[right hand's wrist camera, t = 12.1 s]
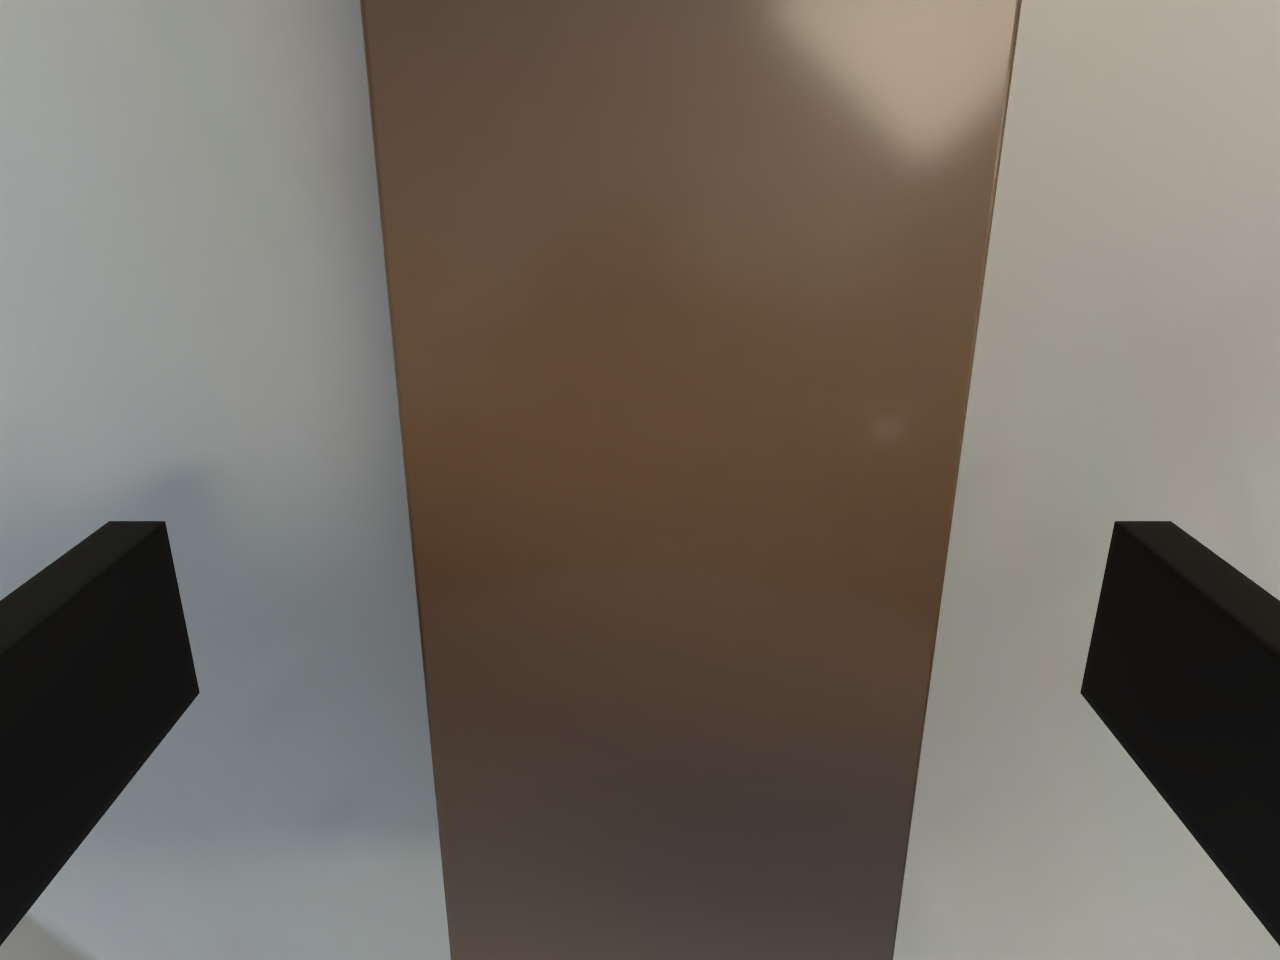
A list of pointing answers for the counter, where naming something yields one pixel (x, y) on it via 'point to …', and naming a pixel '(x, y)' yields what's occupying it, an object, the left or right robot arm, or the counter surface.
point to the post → (682, 448)
